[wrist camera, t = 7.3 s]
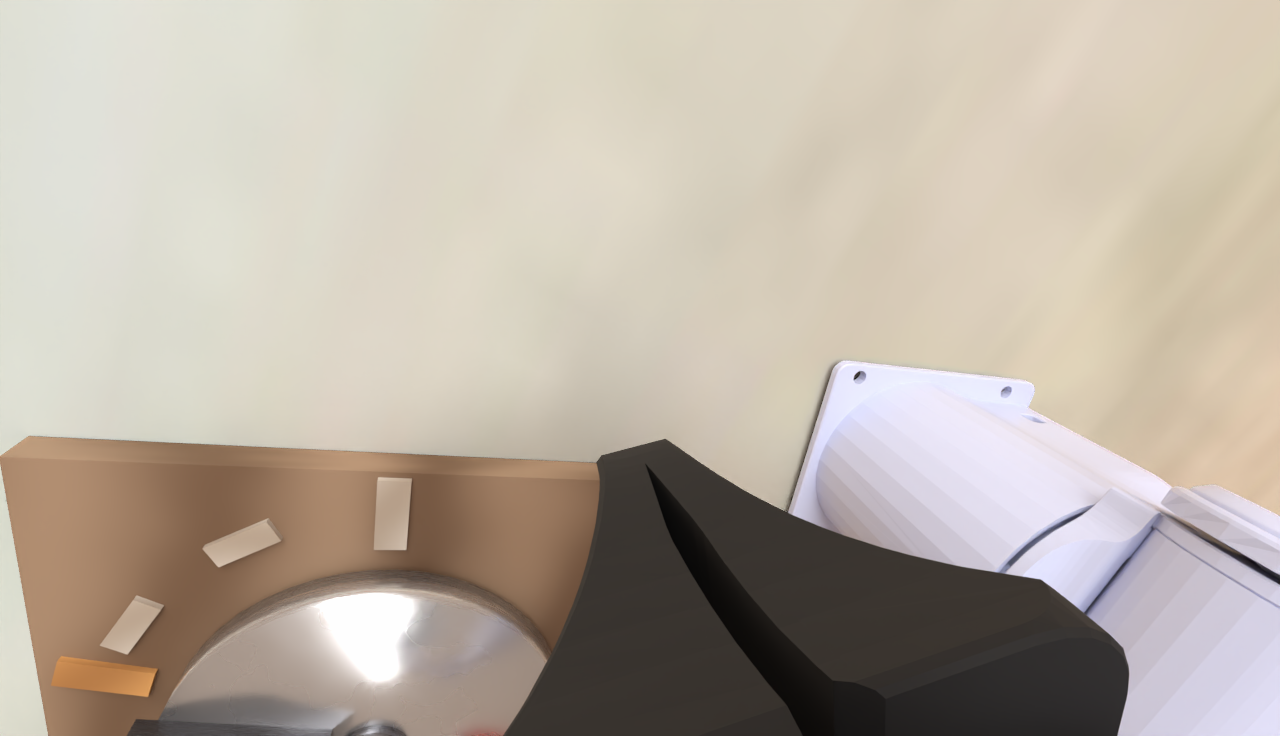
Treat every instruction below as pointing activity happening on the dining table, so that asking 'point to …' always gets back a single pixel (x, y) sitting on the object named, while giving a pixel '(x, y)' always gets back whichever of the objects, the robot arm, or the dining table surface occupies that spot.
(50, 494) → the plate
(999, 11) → the dining table surface
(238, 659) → the dial
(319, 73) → the dining table surface
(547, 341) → the dining table surface
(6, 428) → the dining table surface
